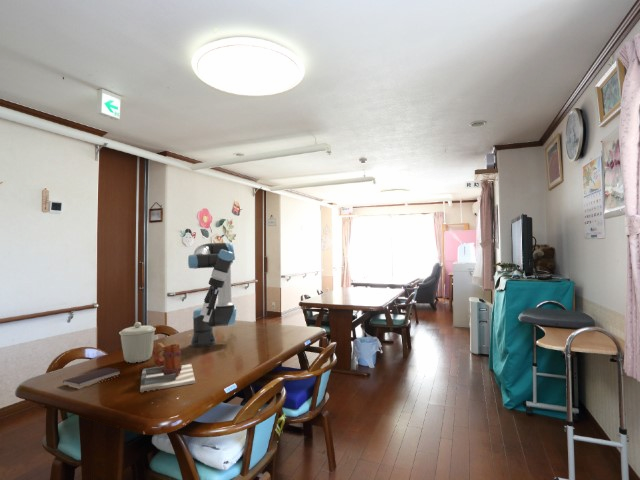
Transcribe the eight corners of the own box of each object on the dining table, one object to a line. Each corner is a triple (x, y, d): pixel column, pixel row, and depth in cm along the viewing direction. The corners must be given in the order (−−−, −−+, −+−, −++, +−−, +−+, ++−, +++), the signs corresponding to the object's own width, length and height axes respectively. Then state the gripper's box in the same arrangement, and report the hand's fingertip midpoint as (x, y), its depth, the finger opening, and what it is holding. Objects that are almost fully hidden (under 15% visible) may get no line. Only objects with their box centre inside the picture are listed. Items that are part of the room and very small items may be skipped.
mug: (186, 373, 166) (185, 341, 166) (175, 379, 158) (174, 346, 158) (160, 371, 169) (159, 340, 170) (148, 377, 162) (147, 345, 162)
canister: (143, 353, 205) (143, 317, 206) (163, 357, 196) (162, 320, 197) (112, 362, 190) (111, 324, 190) (132, 367, 181) (131, 326, 181)
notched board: (143, 373, 171) (143, 365, 171) (191, 366, 180) (191, 358, 180) (140, 392, 147) (140, 383, 147) (195, 383, 156) (194, 374, 156)
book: (62, 386, 158) (62, 379, 159) (105, 372, 176) (105, 366, 176) (78, 391, 153) (78, 383, 153) (121, 376, 170) (120, 369, 170)
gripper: (228, 284, 172) (214, 326, 170) (220, 277, 195) (208, 314, 193) (214, 280, 169) (199, 322, 167) (207, 273, 192) (194, 310, 190)
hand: (203, 318), depth 180 cm, fingers open, 13 cm apart
